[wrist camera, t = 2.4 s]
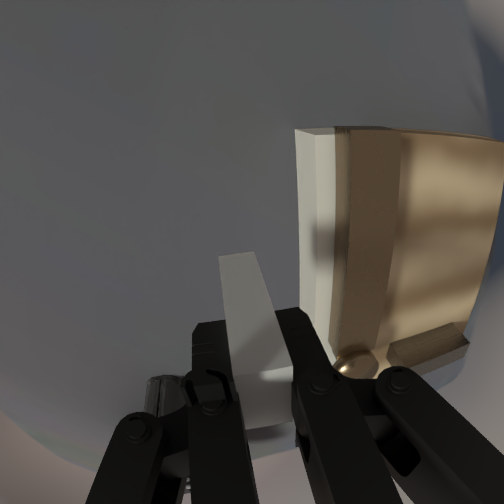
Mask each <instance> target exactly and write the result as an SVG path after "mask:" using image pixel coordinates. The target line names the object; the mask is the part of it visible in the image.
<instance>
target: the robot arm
mask: <svg viewBox="0 0 504 504" xmlns="http://www.w3.org/2000/svg"><path fill="white" fill-rule="evenodd" d="M218 257H219V266H220V275H221V284H222V293H223V302H224V310H225V319H226V320H219V321H212V322H204V323H198V325H197V326H196V328H195V330H194V331H193V333H192V371H190V372H188V373H187V374H186V375H185V377H184V378H183V379H182V381H181V385H180V390H181V392H182V395H183V397H184V399H185V402H186V404H185V405H184V406H183V407H181V408H180V409H179V410H177V411H175V412H172V413H170V414H167V415H164V416H161V417H158V418H156V417H155V416H154V415H152V414H150V413H147V412H135V413H132V414H129V415H127V416H126V417H124V418H123V419H121V420H120V422H119V423H118V425H117V426H116V428H115V431H114V433H113V435H112V438H111V440H110V442H109V445H108V447H107V450H106V452H105V455H104V457H103V459H102V462H101V464H100V467H99V469H98V472H97V474H96V477H95V479H94V482H93V485H92V487H91V490H90V492H89V495H88V498H87V500H86V503H85V504H181V503H182V499H183V495H184V491H185V486H186V482H187V478H188V475H190V489H191V503H192V504H259V499H258V494H257V488H256V483H255V478H254V473H253V467H252V462H251V456H250V450H249V445H248V441H247V436H246V430H247V429H254V428H260V427H266V426H271V425H277V424H282V423H287V422H292V419H293V418H294V422H295V425H296V440H295V443H296V447H299V448H300V451H301V455H302V459H303V462H304V465H305V469H306V472H307V476H308V479H309V483H310V486H311V489H312V493H313V496H314V500H315V503H316V504H403V502H402V500H401V498H400V496H399V493H398V491H397V488H396V486H395V484H394V482H393V479H394V480H395V481H396V482H397V484H398V485H399V486H400V487H401V488H402V489H403V491H404V492H405V493H406V494H407V496H408V497H409V498H410V499H411V500H412V501H413V503H414V504H504V455H503V454H502V453H501V452H499V450H497V449H496V448H495V447H494V446H493V445H492V444H491V443H490V442H489V441H488V440H487V439H486V438H485V437H484V436H483V435H482V434H481V433H480V432H479V431H478V430H476V428H475V427H473V425H471V424H470V423H469V422H468V421H467V420H466V419H465V418H464V417H463V416H462V415H461V414H460V413H459V412H458V411H457V410H456V409H454V407H452V406H451V405H450V404H449V403H448V402H447V401H446V400H445V399H444V398H443V397H442V396H440V394H439V393H437V392H436V391H435V390H434V389H433V388H432V387H431V386H430V385H429V384H428V383H427V382H426V381H425V380H423V379H422V378H421V377H420V376H419V375H418V374H417V373H416V372H414V371H413V370H411V369H410V368H407V367H403V366H391V367H389V368H386V369H384V370H383V371H382V372H381V373H380V374H379V375H378V377H377V379H355V378H350V377H346V376H344V375H343V374H342V373H341V372H339V371H337V370H336V369H334V367H333V366H332V364H331V362H330V360H329V358H328V356H327V354H326V352H325V350H324V348H323V345H322V343H321V341H320V339H319V337H318V335H317V333H316V331H315V329H314V326H313V324H312V322H311V320H310V318H309V316H308V314H306V313H305V312H304V311H303V310H301V309H300V308H299V307H294V308H289V309H283V310H277V311H274V309H273V306H272V303H271V300H270V297H269V294H268V291H267V288H266V285H265V283H264V280H263V277H262V274H261V271H260V268H259V265H258V262H257V259H256V256H255V253H254V251H253V252H246V253H239V254H232V255H225V256H218ZM391 476H392V477H391ZM392 478H393V479H392Z"/></svg>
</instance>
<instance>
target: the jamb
mask: <svg viewBox="0 0 504 504" xmlns="http://www.w3.org/2000/svg"><path fill="white" fill-rule="evenodd" d="M295 143H296V161H297V183H298V210H299V252H300V309H301V310H303V311H304V312H305V313H306V314H308V316H309V318H310V320H311V322H312V324H313V326H314V329H315V331H316V333H317V335H318V337H319V339H320V341H321V343H322V345H323V348H324V350H325V352H326V354H327V356H328V358H329V360H330V362H331V364H332V366H333V364H334V363H335V362H336V361H337V360H338V359H336V357H335V354H334V352H333V350H332V348H331V346H330V344H329V342H328V334H329V324H330V312H331V299H332V284H333V266H334V244H335V202H336V169H335V128H311V129H295Z"/></svg>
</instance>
